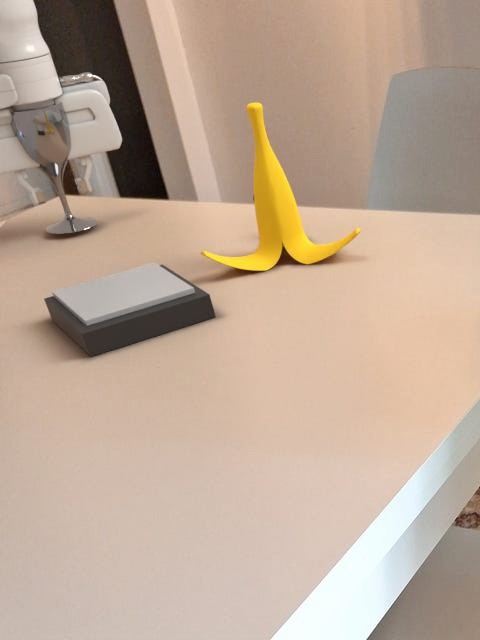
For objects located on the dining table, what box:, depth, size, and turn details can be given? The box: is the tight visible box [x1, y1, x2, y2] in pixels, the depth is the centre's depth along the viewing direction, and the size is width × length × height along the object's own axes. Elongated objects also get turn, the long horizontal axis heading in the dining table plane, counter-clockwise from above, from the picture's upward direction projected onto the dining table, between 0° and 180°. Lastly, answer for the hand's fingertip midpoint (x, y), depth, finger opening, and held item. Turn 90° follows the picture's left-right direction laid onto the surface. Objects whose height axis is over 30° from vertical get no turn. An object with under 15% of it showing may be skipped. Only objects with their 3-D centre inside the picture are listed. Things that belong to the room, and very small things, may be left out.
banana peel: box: [200, 102, 362, 272], centre depth 108 cm, size 16×19×17 cm
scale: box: [43, 262, 216, 358], centre depth 101 cm, size 14×14×3 cm
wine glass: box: [10, 102, 99, 235], centre depth 125 cm, size 8×8×15 cm
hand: (62, 198), depth 127 cm, fingers closed on wine glass, 5 cm apart
